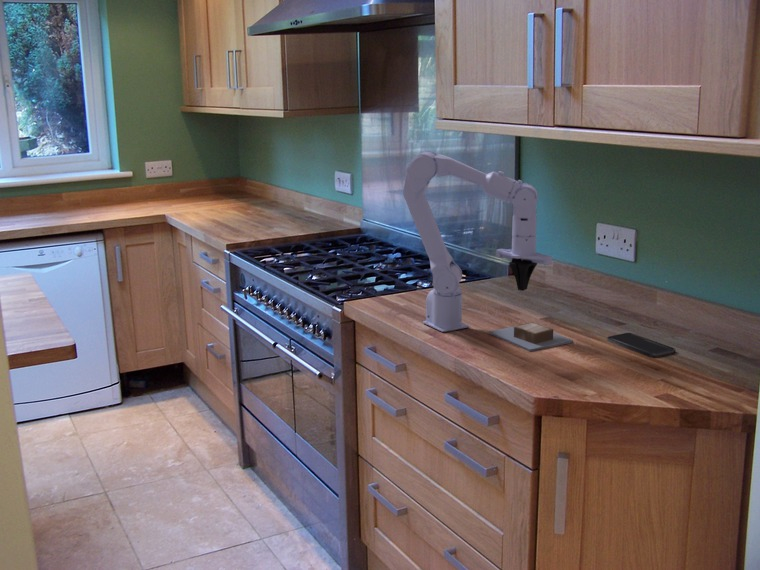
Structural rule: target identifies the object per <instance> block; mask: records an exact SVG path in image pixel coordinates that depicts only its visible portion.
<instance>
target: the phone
mask: <svg viewBox="0 0 760 570" xmlns="http://www.w3.org/2000/svg"><path fill="white" fill-rule="evenodd" d="M606 341H608V342H609V343H612V344H613V345H617V346H619V347H622V348H625V349H627V350H629V351H633V352H635V353H638V354H640V355H642V356H646V357H648V358H651V359H654V358H655V359H656V358H660V357H664V356H665V357H666V356H669V355H673V354H676V348H675V347H672V346H670V345H666V344H664V343H661V342H658V341H655V340H654V339H653V340H652V339H650V338H647V337H643V336H642V335H638V334H637V333H632V332H625V333H620V334H614V335H610V336H609V335H608V336H607V340H606Z"/></svg>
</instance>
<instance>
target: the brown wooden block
mask: <svg viewBox="0 0 760 570" xmlns="http://www.w3.org/2000/svg"><path fill="white" fill-rule="evenodd" d="M515 326H516V327H514V326H513V327H514V337H516V338H519V339H521V340H524V341H527V342H530V343H533V344H538V343H541V342H545V341H549V340H553V332H554V329H553V328H551V327H548V326H544V325H541V324H537V323H535V322H528V323H525V324H521V325H520V326H519V325H515Z"/></svg>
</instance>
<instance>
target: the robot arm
mask: <svg viewBox="0 0 760 570" xmlns="http://www.w3.org/2000/svg"><path fill="white" fill-rule="evenodd" d="M435 175H436V176H437V178H440V177H445V176H452V177H455V178H458V179H461V180H464V181H466V182H469V183H471V184H474V185H477V186H480V187H481V189H482V191H483V193H484V195H488V196H490V197H492V198H494V199H496V200H499V201H502V202H504V203H506V204H512V205H513V215H512V224H511V225H512V228H511V229H512V230H511V237H512V238H511V248H508V249H507V248H498V249H496V251H495V258H499V259H500V258H502V259H504V258H505V259H509V260H511V261H510V262H508V266H509V267H510V269H511V271H512V273H513V275H514V276H513V277H514V279H515V281H516V287H517V291H522V292H523V291H526V290H527V289H528V287H529V282H530V280H531V276H532V274H533V272H534V270H535V268H536V267H537V266H538V264H540V265H541V264H542V265H544V266H549V265H551V264H552V263H553V262H552V261H553V260H552V259H553V257H552V255H547V254H544V253H541V252H536V247H537V224H538V223H537V222H538V221H537V220H538V219H537V204H538V202H539V201H538V197H539V196H538V191H537V189H536V188H535V187H534V186H533V185H531V184H530V183H529V182H524V183H523V180H520V179H518V180H516V179H514V178H511V177H508V176H506V175H505V172H504V171H500V170H499V171H498V172H496V171H491V172H489V173H485V172H483V171H480V170H478V169H476V168H474V167H472V166H470V165H469V164H465V163H463V162H461V161H459V160H458V159H457V160H456V159H455V158H452V157H450V156H447V155H444V154H440V153H438V154H437V153H436V152H434V151H431V150H424V151H422V152H420V153H418V154H417V155H415V156H414V157H413V158H412V159H411V161H410V162H409V164H408V166H407V167H406V169H405V179H404V183H403V184H404V185H403V190H402V195H403V197H404V200H405V202H406V205H407V207H408V210H409V213H410V215H411V217H412V219H413V223H414V225H415V227H416V230H417V232H418V235H419V237H420V239H421V242H422V244H423V247H424V249H425V252H426V254H427V257H428V258H429V259H428V260H429V265H430V271H431V273H432V287H433V289H431V290H430V291H429V292H428V293H427V295H426V298H425V299H426V300H425V320H423V324H425V325H426V326H429V327H430V328H432V329H435V330H437V331H439V332H441V333H445V332H451V331H456V330H462V329H468V328H469V327H470V325H468V324H466V323H464V322H462V321H463V318H462V317H463V315H462V314H463V308H462V307H463V290H462V288H461V287H460V285H459V284H460V282H462V280H463V279H462V278H463V271H462V269H461V267H460V266H459V265H458V264H457V263H456V262H455V261H454V258H453V256H452V255H451V253H449V251H448V248H447V246H446V243H445V241H444V239H443V237H442V233H441V232H440V231H441V230H440V229H439V227H438V224H437V222H436V220H435V217H434V214H433V212H432V209H431V206H430V204H429V201H428V199H427V196H426V190H427V188H428V187H429V184H430V182H431V180H432V179H433V178H434V177H435Z"/></svg>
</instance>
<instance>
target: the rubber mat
mask: <svg viewBox="0 0 760 570" xmlns="http://www.w3.org/2000/svg"><path fill="white" fill-rule="evenodd" d="M516 326H517V325H514V326H510V327H505V328H498V329H493V330H489V331H488V332H487V333H488V334H489V335H492V336H494V337H496V338H499V339H500V340H503V341H504V342H508V343H509V344H512V345H514V346H516V347H518V348H521V349H523V350H525V351H527V352H534V351H535V352H536V351H539V350H544V349H549V348H552V347H558V346H562V345H566V344H567V345H568V344H573V343H574V340H573V339H571V338H569V337H566V336H563V335H560V334H558V333H556V332H554V331H553V340H549V341H545V342H541V343H538V344H533V343H530V342H527V341H524V340H521V339H519V338H516V337H514V327H516ZM518 326H520V325H518Z"/></svg>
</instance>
